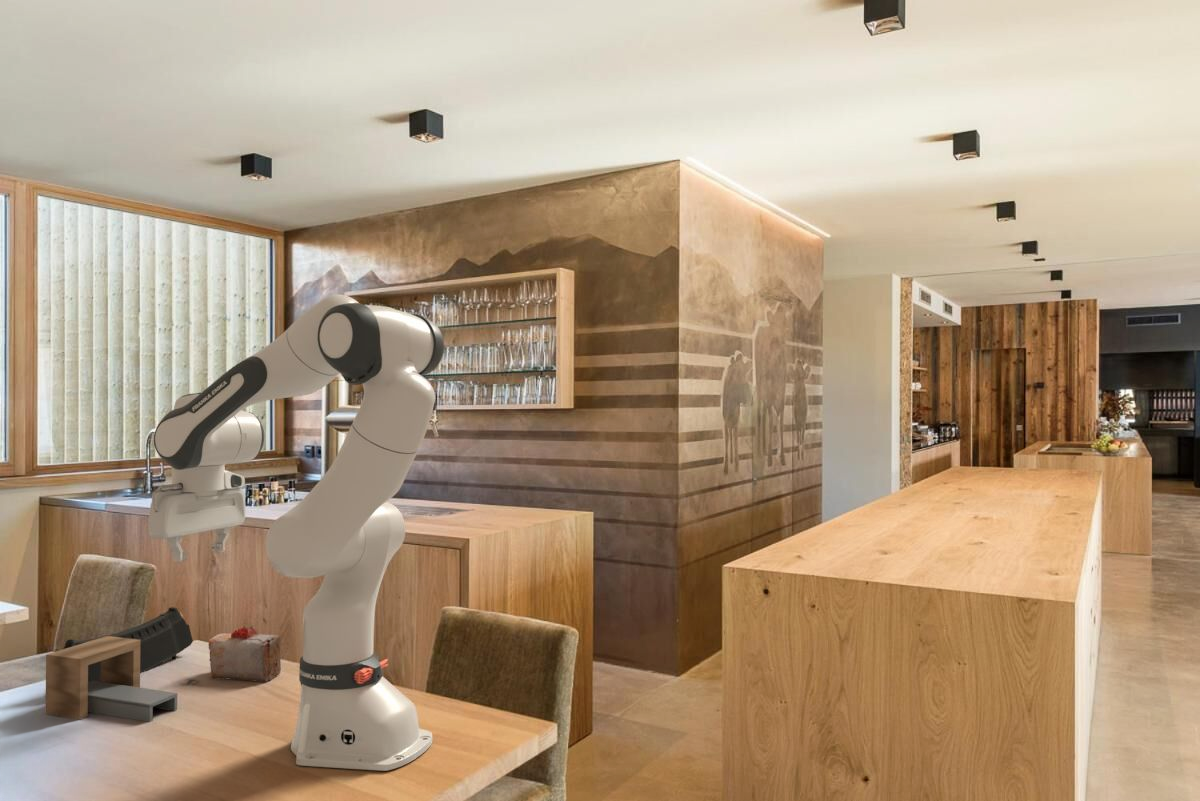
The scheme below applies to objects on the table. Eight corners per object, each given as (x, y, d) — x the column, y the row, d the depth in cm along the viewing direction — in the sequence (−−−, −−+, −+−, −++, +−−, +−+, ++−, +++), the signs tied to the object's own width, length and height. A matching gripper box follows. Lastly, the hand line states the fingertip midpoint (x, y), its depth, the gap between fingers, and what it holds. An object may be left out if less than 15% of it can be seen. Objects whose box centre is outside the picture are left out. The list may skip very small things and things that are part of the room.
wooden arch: (139, 695, 156) (140, 639, 156) (79, 719, 144) (80, 659, 144) (107, 690, 159) (107, 635, 159) (45, 714, 147) (46, 654, 147)
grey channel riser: (177, 709, 149) (177, 693, 150) (149, 721, 144) (149, 704, 144) (92, 696, 156) (92, 680, 156) (62, 707, 150) (62, 691, 150)
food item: (201, 680, 165) (202, 630, 166) (226, 668, 173) (226, 620, 173) (264, 685, 163) (264, 634, 163) (286, 672, 171) (287, 624, 171)
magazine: (50, 656, 151) (178, 577, 178) (37, 654, 152) (166, 576, 179) (74, 736, 156) (196, 648, 183) (61, 734, 157) (184, 646, 184)
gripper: (167, 486, 142) (168, 567, 142) (251, 477, 162) (251, 548, 161) (138, 486, 144) (139, 566, 144) (224, 477, 164) (225, 547, 163)
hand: (199, 556), depth 153 cm, fingers open, 8 cm apart
